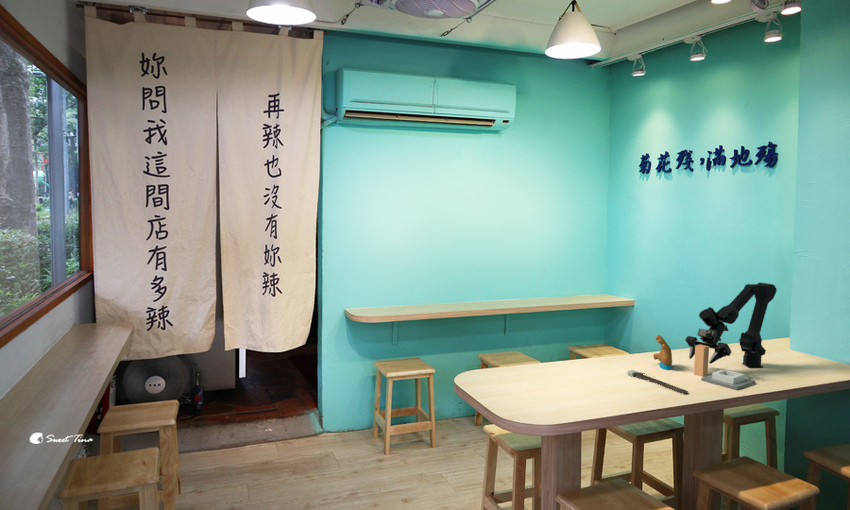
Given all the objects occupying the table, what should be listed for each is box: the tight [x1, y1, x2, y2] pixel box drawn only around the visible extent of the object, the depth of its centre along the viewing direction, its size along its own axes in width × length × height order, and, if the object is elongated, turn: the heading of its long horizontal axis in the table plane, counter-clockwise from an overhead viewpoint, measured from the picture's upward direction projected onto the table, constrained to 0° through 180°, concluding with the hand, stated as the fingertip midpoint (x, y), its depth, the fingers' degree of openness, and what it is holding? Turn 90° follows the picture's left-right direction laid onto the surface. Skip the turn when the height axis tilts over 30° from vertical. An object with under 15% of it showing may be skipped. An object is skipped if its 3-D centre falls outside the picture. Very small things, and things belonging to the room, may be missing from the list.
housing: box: [700, 368, 756, 391], centre depth 243 cm, size 15×15×4 cm
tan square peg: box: [693, 345, 710, 378], centre depth 253 cm, size 4×4×13 cm
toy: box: [653, 334, 673, 371], centre depth 265 cm, size 12×7×15 cm, turn 168°
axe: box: [627, 369, 689, 395], centre depth 242 cm, size 11×2×30 cm
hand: (699, 360), depth 252 cm, fingers open, 9 cm apart
